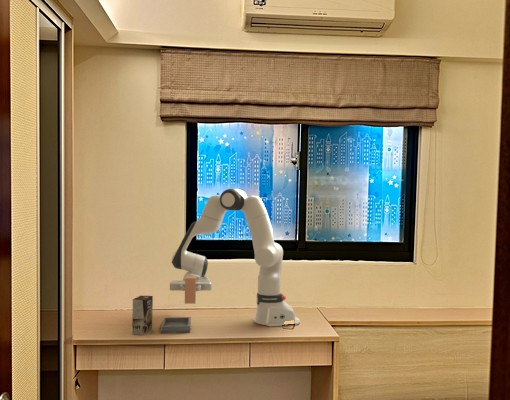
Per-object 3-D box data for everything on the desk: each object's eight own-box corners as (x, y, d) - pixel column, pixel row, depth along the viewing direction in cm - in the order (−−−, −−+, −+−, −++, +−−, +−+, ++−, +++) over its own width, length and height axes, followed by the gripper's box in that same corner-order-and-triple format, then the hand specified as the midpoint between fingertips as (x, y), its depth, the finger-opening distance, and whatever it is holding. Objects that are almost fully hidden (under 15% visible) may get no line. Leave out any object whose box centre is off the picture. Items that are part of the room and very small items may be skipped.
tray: (190, 323, 255) (190, 317, 255) (189, 332, 239) (189, 326, 239) (163, 323, 254) (163, 317, 254) (161, 333, 238) (161, 326, 238)
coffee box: (145, 335, 234) (145, 299, 234) (131, 334, 235) (131, 299, 235) (153, 329, 243) (153, 295, 242) (140, 328, 244) (140, 294, 244)
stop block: (195, 301, 252) (195, 276, 251) (195, 303, 247) (195, 278, 246) (185, 301, 251) (185, 276, 251) (184, 303, 246) (185, 278, 246)
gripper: (170, 276, 260) (168, 282, 247) (211, 277, 262) (211, 282, 248) (170, 289, 261) (168, 295, 247) (211, 289, 262) (211, 295, 249)
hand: (190, 289), depth 248 cm, fingers closed on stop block, 5 cm apart
